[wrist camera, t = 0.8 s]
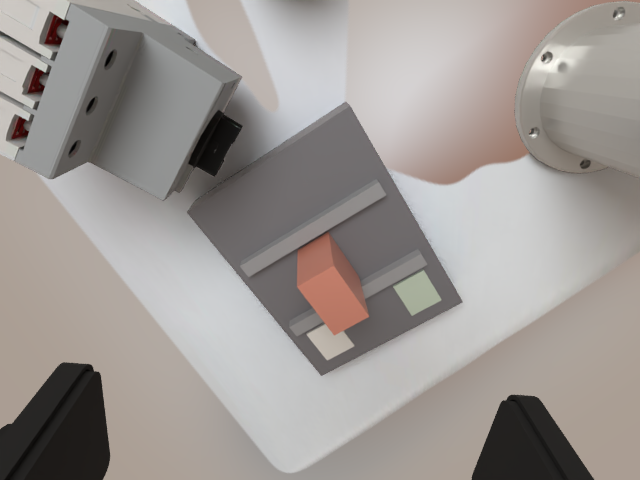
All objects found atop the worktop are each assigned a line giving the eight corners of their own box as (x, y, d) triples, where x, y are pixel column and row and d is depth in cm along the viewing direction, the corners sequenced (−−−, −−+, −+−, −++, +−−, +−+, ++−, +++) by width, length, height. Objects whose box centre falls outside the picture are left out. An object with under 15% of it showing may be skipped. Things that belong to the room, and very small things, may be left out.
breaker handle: (328, 231, 34) (333, 265, 28) (358, 276, 36) (369, 316, 30) (297, 250, 35) (297, 286, 29) (329, 293, 36) (334, 335, 31)
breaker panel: (345, 101, 33) (351, 107, 29) (451, 285, 40) (466, 308, 36) (195, 200, 36) (183, 216, 32) (320, 355, 43) (321, 383, 39)
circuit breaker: (223, 168, 35) (172, 241, 21) (51, 69, 31) (-146, 79, 17) (268, 87, 32) (243, 110, 19) (86, -31, 29) (-109, -109, 15)
